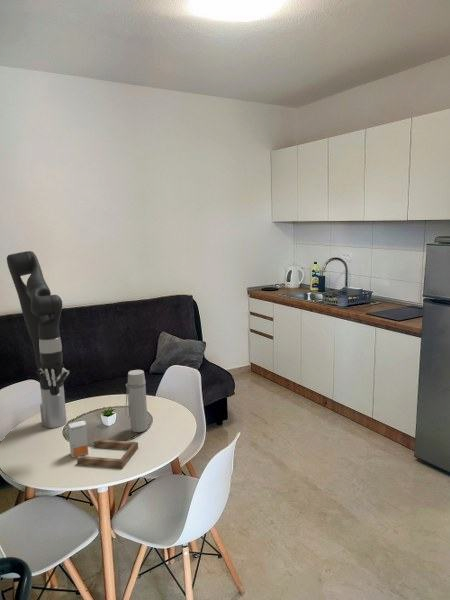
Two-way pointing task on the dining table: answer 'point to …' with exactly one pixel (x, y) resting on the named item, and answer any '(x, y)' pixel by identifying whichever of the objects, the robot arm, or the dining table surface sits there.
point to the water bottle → (137, 400)
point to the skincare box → (78, 438)
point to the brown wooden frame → (110, 462)
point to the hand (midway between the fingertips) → (55, 394)
